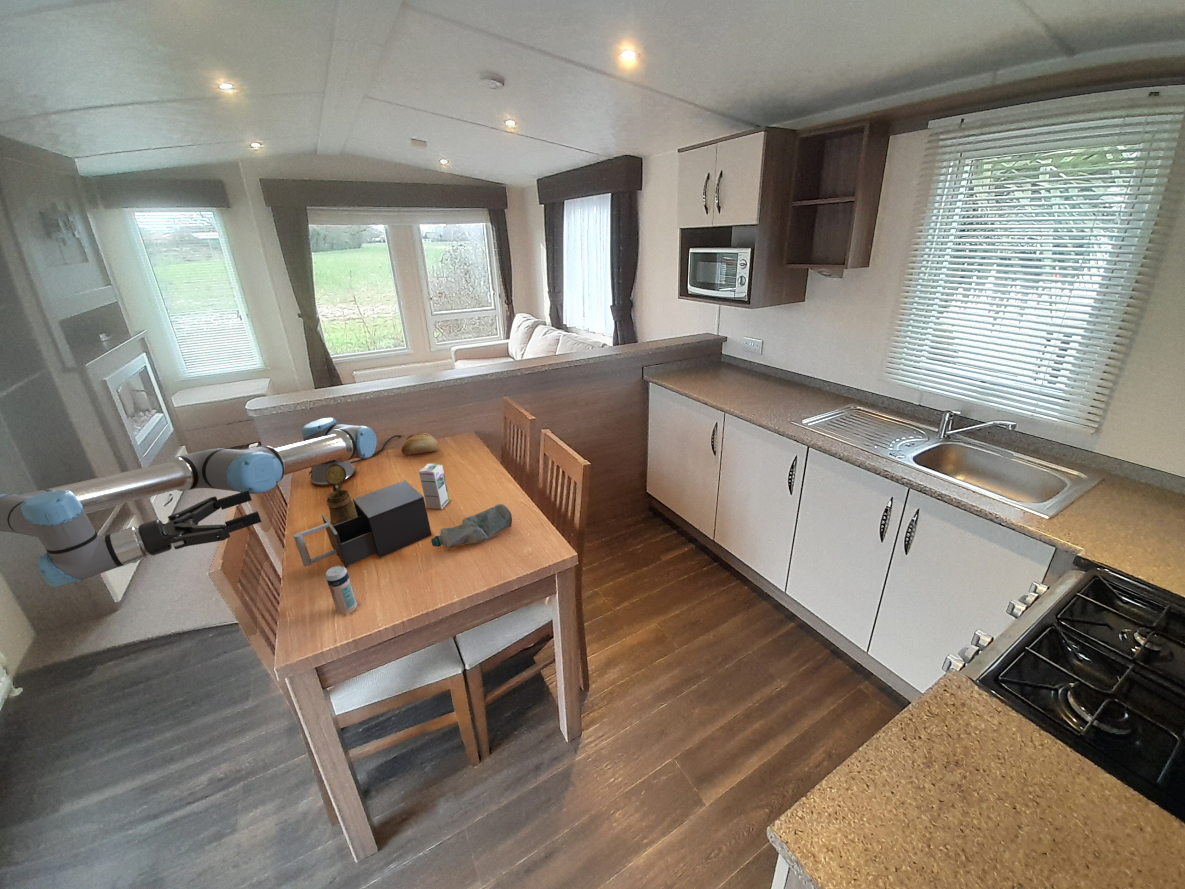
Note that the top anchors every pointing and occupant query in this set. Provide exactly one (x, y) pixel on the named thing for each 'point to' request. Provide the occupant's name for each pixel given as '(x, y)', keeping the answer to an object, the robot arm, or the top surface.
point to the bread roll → (419, 444)
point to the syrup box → (434, 486)
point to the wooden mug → (339, 496)
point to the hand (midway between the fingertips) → (254, 505)
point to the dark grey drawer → (341, 541)
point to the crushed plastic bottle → (475, 528)
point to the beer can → (341, 589)
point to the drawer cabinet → (394, 516)
